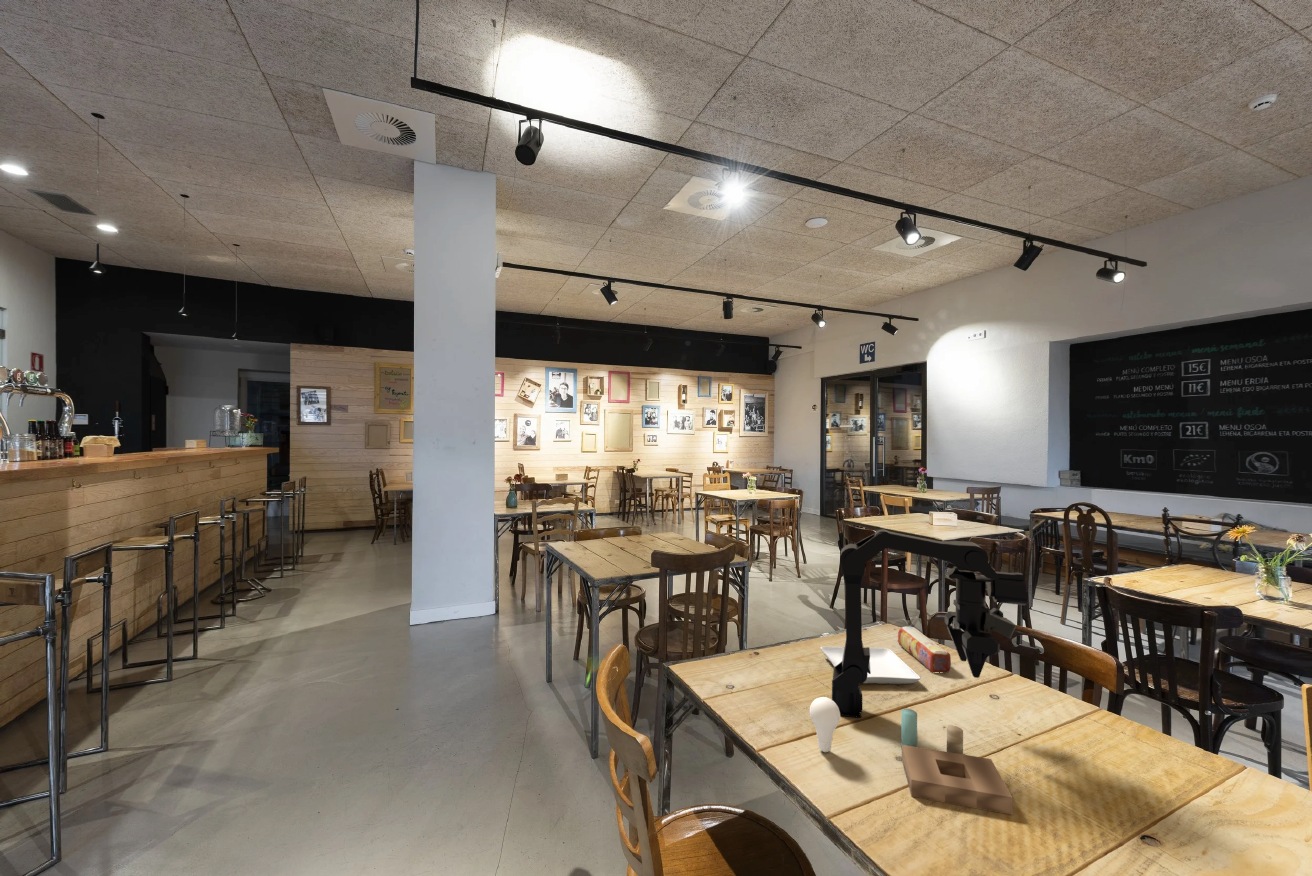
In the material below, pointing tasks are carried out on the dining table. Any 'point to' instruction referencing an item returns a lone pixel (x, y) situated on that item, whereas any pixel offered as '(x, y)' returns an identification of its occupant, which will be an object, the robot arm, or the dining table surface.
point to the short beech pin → (954, 739)
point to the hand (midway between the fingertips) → (969, 668)
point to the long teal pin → (908, 727)
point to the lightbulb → (824, 721)
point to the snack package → (924, 649)
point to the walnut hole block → (955, 779)
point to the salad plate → (879, 666)
